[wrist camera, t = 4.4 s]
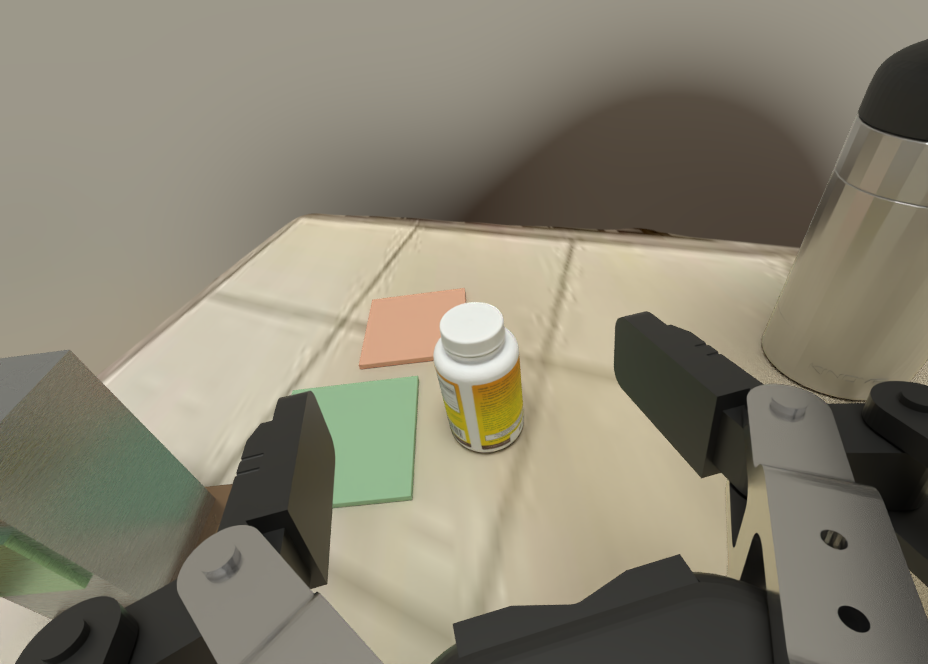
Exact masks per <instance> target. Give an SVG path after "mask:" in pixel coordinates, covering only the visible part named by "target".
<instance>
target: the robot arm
mask: <svg viewBox="0 0 928 664" xmlns="http://www.w3.org/2000/svg"><path fill="white" fill-rule="evenodd" d="M762 346H763V350H764V353H765V354H766V356H767V357H768V359H769V361H770V362H771V363H772V364H773V365H774V366H775V367H776V368H777V369H778V370H779V371H781V372H782V373H783V374H785V375H786V376H788V377H789V378H790V379H792V380H794V381H796V382H798V383H800V384H801V385H803V386H805V387H808V388H810V389H813V390H815V391H818V392H820V393H824V394H827V395H831V396H834V397H839V398H845V399H851V400H867V401H866V403H849V404H827V403H825V402H824V401H823V400H822V399H821V398H819V397H818V396H816V395H814V394H812V393H810V392H808V391H806V390H803V389H800V388H797V387H793V386H789V385H783V384H765V385H764V384H762V383H761V382H759V381H758V380H757V379H755V378H754V377H752V376H751V375H750V374H748V373H747V372H745V371H744V370H743V369H741V368H740V367H739V366H737V365H736V364H734V363H733V362H732V361H730V360H729V359H727V358H726V357H725V356H723V355H722V354H718V351H716V350H715V349H714V348H712V347H711V346H709V345H706V343H705V342H704V341H702V340H701V339H700V338H698V337H697V336H695V335H694V334H693V333H691V332H689V331H686V330H684V329H681V328H678V327H676V326H673V325H666V324H665V323H663V322H662V321H661V320H659V319H658V318H657V317H655V316H654V315H653V314H651V313H650V312H641V313H637V314H633V315H629V316H625V317H621V318H619V319H618V320H617V321H616V325H615V349H614V371H615V376H616V379H617V381H618V383H619V385H620V387H621V388H622V389H623V390H624V392H625V393H626V394H627V395H628V396H629V397H630V398H631V399H632V401H633V402H634V403H635V404H636V405H637V406H638V407H639V408H640V410H641V411H642V412H643V413H644V414H645V415H646V416H647V417H648V419H649V420H650V421H651V422H652V423H653V424H654V425H655V426H656V428H657V429H658V430H659V431H660V432H661V433H662V434H663V435H664V437H665V438H666V439H667V440H668V441H669V442H670V443H671V444H672V446H673V447H674V448H675V449H676V450H677V451H678V452H679V453H680V455H681V456H682V457H683V458H684V459H685V460H686V461H687V462H688V464H689V465H690V466H691V467H692V468H693V469H694V470H695V471H696V473H697V474H698V475H699V476H700V477H701V478H704V477H707V476H711V475H714V474H718V473H722V474H723V475H724V476H725V477H726V478H727V483H726V488H725V495H726V522H727V550H728V565H727V575H726V576H721V575H717V574H710V573H701V572H692V571H691V570H690V568H689V567H688V565H687V564H686V562H685V561H684V560H683V558H682V557H681V555H680V554H679V555H675V556H672V557H669V558H665V559H662V560H659V561H656V562H652V563H649V564H646V565H643V566H639V567H636V568H633V569H630V570H626V571H625V572H624V573H622V574H621V575H619V576H618V577H616V578H615V579H613V580H612V581H610V582H609V583H607V584H606V585H604V586H603V587H602V588H600V589H599V590H597V591H596V592H594V593H593V594H591V595H590V596H588V597H587V598H585V599H584V600H583V601H581V602H579V603H576V604H571V605H530V606H509V607H506V608H503V609H499V610H496V611H493V612H490V613H486V614H483V615H480V616H477V617H473V618H470V619H467V620H464V621H460V622H457V623H454V624H453V628H454V634H455V639H456V644H455V645H453V646H452V647H450V648H449V649H447V650H446V651H444V652H443V653H442V654H441V655H440V656H439V657H437V658H436V659H435V660H434V661H433V662H432V663H431V664H928V619H927V616H926V614H925V611H924V608H923V606H922V603H921V600H920V598H919V595H918V592H917V590H916V587H915V584H914V582H913V579H912V576H911V574H910V571H911V572H912V573H913V574H914V575H915V576H917V577H918V578H919V579H920V580H921V581H922V582H923V583H924V584H925V585H926V586H927V587H928V386H926V385H923V384H918V383H913V382H910V381H911V380H912V379H913V378H914V376H915V375H916V374H917V373H918V371H919V370H920V369H921V368H922V366H923V365H924V364H925V363H926V361H927V360H928V39H927V40H924V41H921V42H918V43H916V44H913V45H910V46H908V47H906V48H904V49H902V50H900V51H898V52H897V53H895V54H893V55H892V56H890V57H889V58H888V59H887V60H886V61H885V62H883V64H881V66H880V67H879V68H878V70H877V71H876V73H875V75H874V77H873V79H872V81H871V83H870V85H869V87H868V89H867V91H866V94H865V96H864V99H863V101H862V103H861V106H860V108H859V111H858V113H857V115H856V118H855V120H854V122H853V125H852V127H851V129H850V132H849V134H848V137H847V139H846V141H845V143H844V146H843V148H842V151H841V153H840V155H839V157H838V160H837V162H836V166H835V168H834V170H833V172H832V175H831V177H830V179H829V182H828V184H827V186H826V189H825V191H824V194H823V196H822V198H821V201H820V203H819V205H818V208H817V210H816V212H815V215H814V217H813V219H812V222H811V224H810V227H809V229H808V231H807V233H806V236H805V238H804V240H803V243H802V245H801V248H800V250H799V252H798V255H797V257H796V259H795V262H794V264H793V266H792V269H791V271H790V273H789V276H788V278H787V280H786V283H785V285H784V287H783V290H782V292H781V295H780V296H779V299H778V301H777V303H776V306H775V308H774V311H773V313H772V315H771V318H770V320H769V322H768V325H767V327H766V329H765V332H764V334H763V337H762ZM241 459H242V461H241V462H240V463H239V466H238V470H237V476H236V477H235V479H234V482H233V485H232V488H231V491H230V494H229V497H228V500H227V503H226V506H225V509H224V512H223V515H222V519H221V522H220V525H219V528H218V531H217V533H215V534H213V535H212V536H210V537H209V538H207V539H206V540H205V541H204V542H202V543H201V544H200V545H199V546H198V547H197V548H196V549H195V550H194V551H193V552H192V553H191V554H190V555H189V557H188V558H187V559H186V561H185V562H184V564H183V566H182V568H181V570H180V572H179V575H178V578H177V579H176V580H174V581H173V582H171V583H169V584H167V585H166V586H164V587H162V588H160V589H158V590H156V591H154V592H153V593H151V594H149V595H147V596H145V597H143V598H142V599H140V600H138V601H136V602H134V603H132V604H131V605H129V606H127V607H125V608H124V607H123V606H122V605H121V604H120V603H119V602H118V601H117V600H115V599H114V598H112V597H108V596H98V597H94V598H90V599H87V600H84V601H82V602H80V603H78V604H76V605H74V606H72V607H70V608H69V609H67V610H65V611H64V612H62V613H61V614H60V615H58V616H57V617H55V618H54V619H53V620H52V621H51V622H49V623H48V624H47V625H46V626H45V627H44V628H43V629H42V630H41V631H40V632H38V633H37V635H36V636H35V637H34V638H33V639H32V640H31V641H30V642H29V644H28V645H27V646H26V648H25V649H24V650H23V652H22V653H21V655H20V656H19V658H18V660H17V661H16V663H15V664H383V663H382V661H381V660H380V659H379V658H378V657H377V656H376V655H375V654H374V652H373V651H372V650H371V649H370V648H369V647H368V646H367V645H366V644H365V642H364V641H363V640H362V639H361V638H360V637H359V636H358V635H357V633H356V632H355V631H354V630H353V629H352V628H351V627H350V626H349V625H348V623H347V622H346V621H345V620H344V619H343V618H342V617H341V616H340V614H339V613H338V612H337V611H336V610H335V609H334V608H333V607H332V606H331V604H330V603H329V602H328V601H327V600H326V599H325V598H324V597H323V596H322V595H321V594H320V593H318V592H316V593H315V594H314V593H313V592H312V591H311V590H310V589H312V588H316V587H319V586H323V585H326V584H327V580H328V565H329V550H330V536H331V521H332V506H333V491H334V476H335V449H334V444H333V440H332V437H331V434H330V432H329V429H328V427H327V424H326V422H325V419H324V417H323V414H322V412H321V409H320V407H319V404H318V402H317V400H316V397H315V395H314V393H313V392H312V391H307V392H302V393H298V394H294V395H290V396H286V397H282V398H279V399H278V402H277V405H276V409H275V413H274V416H273V420H272V421H269V422H265V423H261V424H260V425H259V426H258V428H257V429H256V430H255V431H254V433H253V434H252V435H251V436H250V438H249V439H248V440H247V442H246V445H245V448H244V451H243V454H242V457H241ZM909 570H910V571H909Z"/></svg>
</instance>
